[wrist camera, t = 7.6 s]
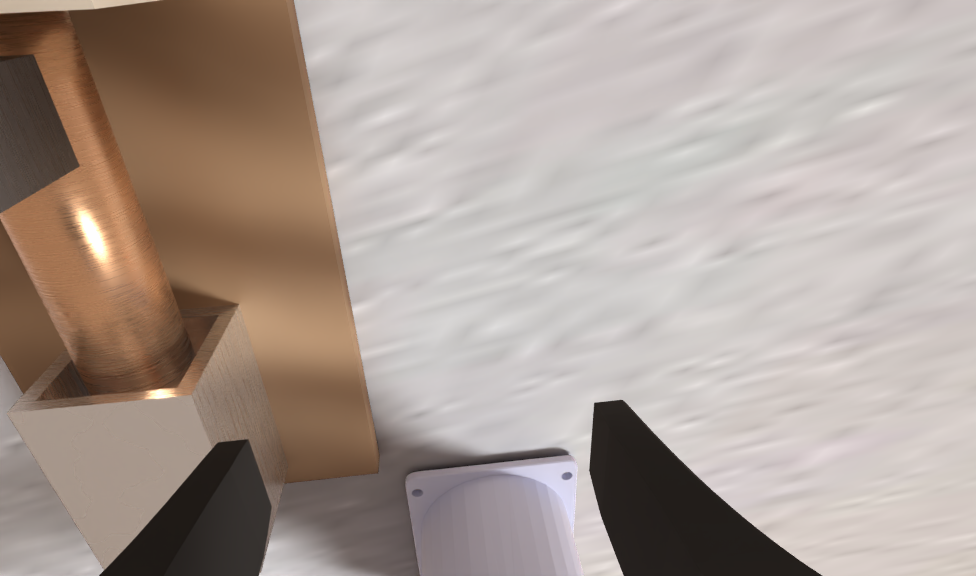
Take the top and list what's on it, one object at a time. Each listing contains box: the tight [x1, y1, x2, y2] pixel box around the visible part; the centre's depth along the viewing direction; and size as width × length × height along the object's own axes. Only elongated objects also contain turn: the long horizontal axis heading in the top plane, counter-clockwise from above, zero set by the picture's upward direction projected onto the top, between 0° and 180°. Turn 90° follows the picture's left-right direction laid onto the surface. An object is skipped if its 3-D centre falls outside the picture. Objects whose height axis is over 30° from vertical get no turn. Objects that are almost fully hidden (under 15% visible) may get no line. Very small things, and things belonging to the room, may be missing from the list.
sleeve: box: [7, 304, 288, 573], centre depth 19 cm, size 8×5×5 cm, turn 2°
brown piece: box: [0, 10, 196, 396], centre depth 13 cm, size 14×3×6 cm, turn 2°
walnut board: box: [0, 0, 379, 483], centre depth 19 cm, size 23×12×1 cm, turn 2°
